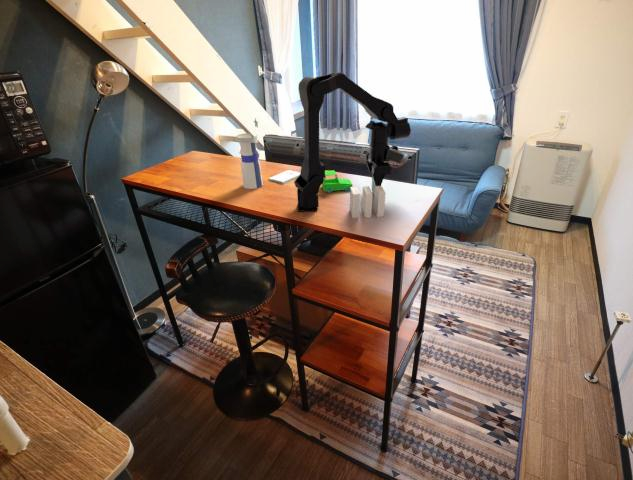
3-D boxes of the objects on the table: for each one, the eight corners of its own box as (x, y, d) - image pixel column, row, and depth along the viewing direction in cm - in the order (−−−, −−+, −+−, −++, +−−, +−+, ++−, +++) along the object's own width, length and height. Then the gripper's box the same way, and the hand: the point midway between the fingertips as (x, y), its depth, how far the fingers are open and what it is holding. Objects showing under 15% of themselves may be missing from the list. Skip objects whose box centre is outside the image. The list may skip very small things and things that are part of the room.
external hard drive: (268, 181, 140) (288, 173, 149) (283, 185, 136) (303, 176, 144) (268, 178, 139) (288, 169, 148) (282, 181, 135) (302, 172, 143)
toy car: (323, 193, 127) (323, 176, 124) (320, 186, 133) (320, 170, 129) (353, 191, 128) (353, 174, 125) (349, 184, 134) (349, 168, 131)
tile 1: (352, 217, 109) (353, 194, 105) (349, 209, 114) (350, 187, 110) (358, 217, 109) (359, 194, 105) (355, 209, 114) (356, 186, 110)
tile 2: (364, 217, 109) (366, 193, 105) (361, 209, 114) (362, 186, 110) (371, 217, 109) (372, 193, 105) (367, 208, 114) (369, 186, 110)
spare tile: (374, 196, 122) (376, 174, 118) (371, 189, 127) (372, 168, 123) (380, 195, 122) (381, 174, 118) (376, 189, 127) (378, 168, 123)
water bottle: (252, 180, 140) (244, 116, 128) (268, 184, 136) (261, 118, 123) (237, 186, 135) (227, 120, 122) (253, 190, 130) (244, 122, 118)
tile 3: (377, 216, 109) (379, 193, 105) (373, 208, 114) (375, 186, 110) (383, 216, 109) (385, 193, 105) (379, 208, 114) (381, 185, 110)
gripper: (411, 148, 107) (405, 194, 115) (396, 133, 123) (392, 175, 131) (375, 149, 107) (372, 195, 115) (365, 135, 123) (363, 176, 131)
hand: (376, 185), depth 123 cm, fingers closed on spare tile, 6 cm apart
